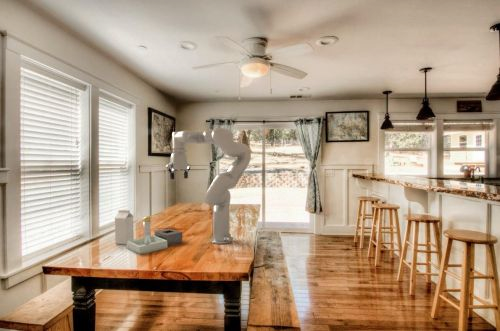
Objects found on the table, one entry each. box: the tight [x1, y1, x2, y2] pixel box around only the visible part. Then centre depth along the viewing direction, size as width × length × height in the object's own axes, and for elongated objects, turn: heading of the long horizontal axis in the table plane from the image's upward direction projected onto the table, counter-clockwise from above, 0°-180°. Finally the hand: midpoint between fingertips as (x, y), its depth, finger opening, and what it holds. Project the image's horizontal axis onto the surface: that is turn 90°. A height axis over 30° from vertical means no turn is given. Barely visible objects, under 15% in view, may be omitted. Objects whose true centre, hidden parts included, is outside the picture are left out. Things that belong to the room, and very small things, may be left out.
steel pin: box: [142, 215, 152, 245], centre depth 155 cm, size 4×4×16 cm
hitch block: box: [153, 227, 183, 247], centre depth 166 cm, size 14×10×6 cm
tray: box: [126, 235, 168, 256], centre depth 155 cm, size 16×16×4 cm
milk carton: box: [114, 209, 135, 245], centre depth 166 cm, size 7×7×19 cm
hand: (179, 178), depth 178 cm, fingers open, 9 cm apart
